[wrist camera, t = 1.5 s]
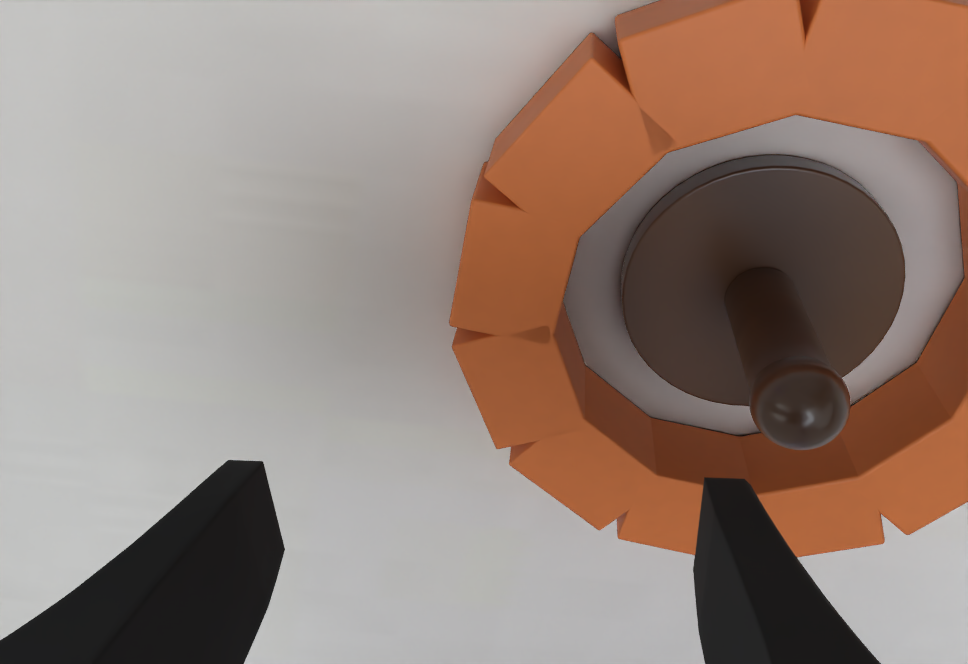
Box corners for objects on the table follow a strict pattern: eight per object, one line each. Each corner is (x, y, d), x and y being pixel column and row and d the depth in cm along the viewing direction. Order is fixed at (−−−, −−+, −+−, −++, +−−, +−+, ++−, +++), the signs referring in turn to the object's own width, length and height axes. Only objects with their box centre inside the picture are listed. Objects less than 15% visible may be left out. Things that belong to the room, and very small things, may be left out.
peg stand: (655, 411, 22) (674, 579, 17) (589, 200, 19) (589, 328, 14) (907, 357, 20) (1012, 527, 15) (878, 117, 17) (995, 229, 12)
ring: (562, 533, 25) (560, 595, 23) (380, 96, 18) (354, 128, 16) (1079, 442, 21) (1131, 507, 19) (1078, -146, 15) (1157, -144, 13)
